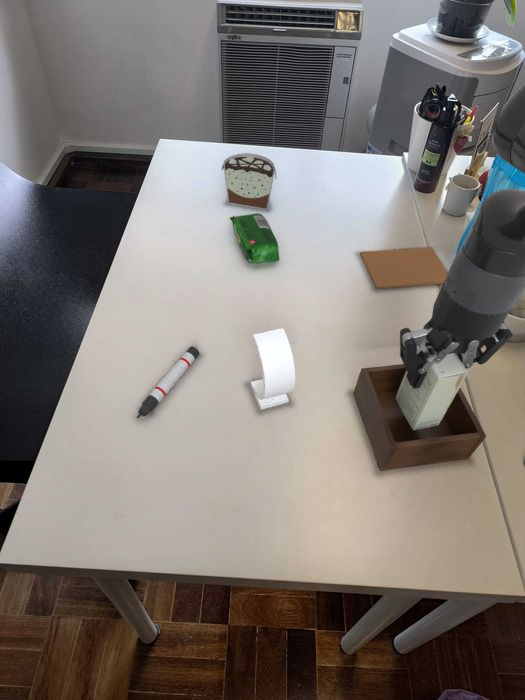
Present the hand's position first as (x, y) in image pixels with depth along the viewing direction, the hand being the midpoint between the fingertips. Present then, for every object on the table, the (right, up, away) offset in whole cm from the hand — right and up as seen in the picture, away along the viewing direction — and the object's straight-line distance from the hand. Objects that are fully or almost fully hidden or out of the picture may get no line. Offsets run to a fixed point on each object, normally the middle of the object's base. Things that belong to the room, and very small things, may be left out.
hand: (431, 380), depth 64 cm
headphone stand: (-22, -3, +11) cm, 24 cm away
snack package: (-25, +26, +35) cm, 50 cm away
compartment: (-1, -7, +8) cm, 11 cm away
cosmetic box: (0, -5, +6) cm, 8 cm away
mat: (+6, +21, +33) cm, 40 cm away
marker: (-38, -2, +11) cm, 40 cm away
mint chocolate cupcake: (-26, +40, +47) cm, 67 cm away
